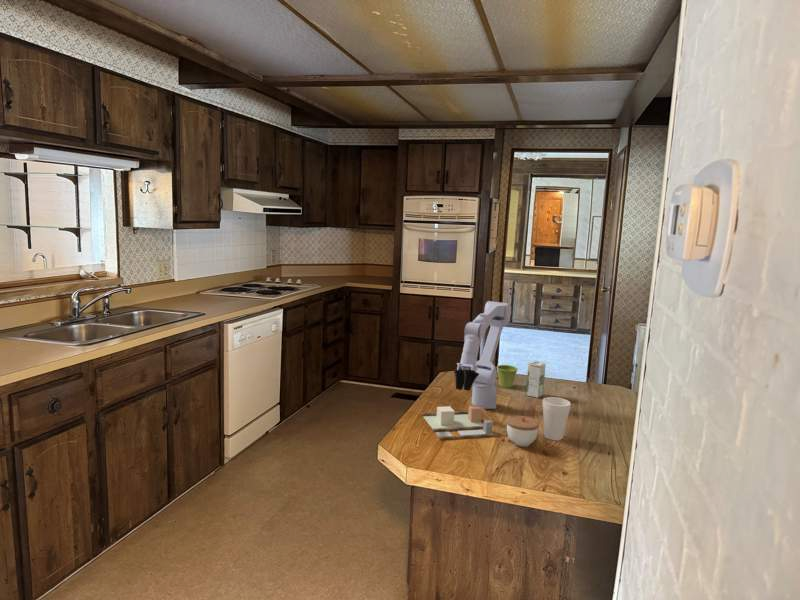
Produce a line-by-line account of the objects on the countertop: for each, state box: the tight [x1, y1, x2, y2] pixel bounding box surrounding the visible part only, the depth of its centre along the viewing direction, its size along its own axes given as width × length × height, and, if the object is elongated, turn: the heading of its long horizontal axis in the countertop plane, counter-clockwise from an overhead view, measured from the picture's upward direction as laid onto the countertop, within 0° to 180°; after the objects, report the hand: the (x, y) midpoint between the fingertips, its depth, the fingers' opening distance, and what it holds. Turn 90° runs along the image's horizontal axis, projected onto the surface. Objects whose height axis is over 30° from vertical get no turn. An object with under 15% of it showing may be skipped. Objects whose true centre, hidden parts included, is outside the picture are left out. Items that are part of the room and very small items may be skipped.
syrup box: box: [525, 360, 546, 399], centre depth 238 cm, size 6×6×14 cm
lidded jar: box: [506, 415, 540, 447], centre depth 188 cm, size 11×11×9 cm
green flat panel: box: [422, 405, 484, 430], centre depth 202 cm, size 20×13×6 cm, turn 104°
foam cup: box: [541, 396, 572, 441], centre depth 194 cm, size 10×9×13 cm
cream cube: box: [436, 405, 456, 425], centre depth 201 cm, size 5×5×5 cm
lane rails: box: [420, 410, 499, 441], centre depth 199 cm, size 21×23×2 cm
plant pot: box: [496, 364, 519, 389], centre depth 250 cm, size 9×9×9 cm
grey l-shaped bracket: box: [457, 419, 494, 436], centre depth 193 cm, size 12×5×5 cm, turn 105°
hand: (462, 389), depth 204 cm, fingers open, 7 cm apart
